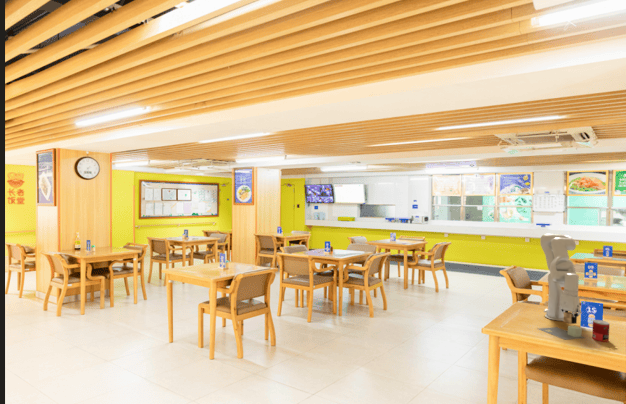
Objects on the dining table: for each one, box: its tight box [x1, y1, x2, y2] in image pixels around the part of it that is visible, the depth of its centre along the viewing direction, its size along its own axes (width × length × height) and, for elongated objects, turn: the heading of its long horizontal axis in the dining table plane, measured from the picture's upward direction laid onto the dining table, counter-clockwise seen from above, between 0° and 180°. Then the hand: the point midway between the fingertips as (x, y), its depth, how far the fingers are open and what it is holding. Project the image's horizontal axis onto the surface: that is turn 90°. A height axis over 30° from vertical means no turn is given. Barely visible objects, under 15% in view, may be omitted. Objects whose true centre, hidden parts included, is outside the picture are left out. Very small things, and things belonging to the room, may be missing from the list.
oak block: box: [562, 311, 578, 325], centre depth 257 cm, size 5×5×6 cm
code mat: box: [538, 326, 586, 341], centre depth 246 cm, size 20×16×1 cm
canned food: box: [591, 319, 610, 343], centre depth 237 cm, size 8×8×11 cm
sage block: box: [567, 325, 583, 337], centre depth 243 cm, size 5×5×5 cm
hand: (569, 321), depth 257 cm, fingers closed on oak block, 5 cm apart
